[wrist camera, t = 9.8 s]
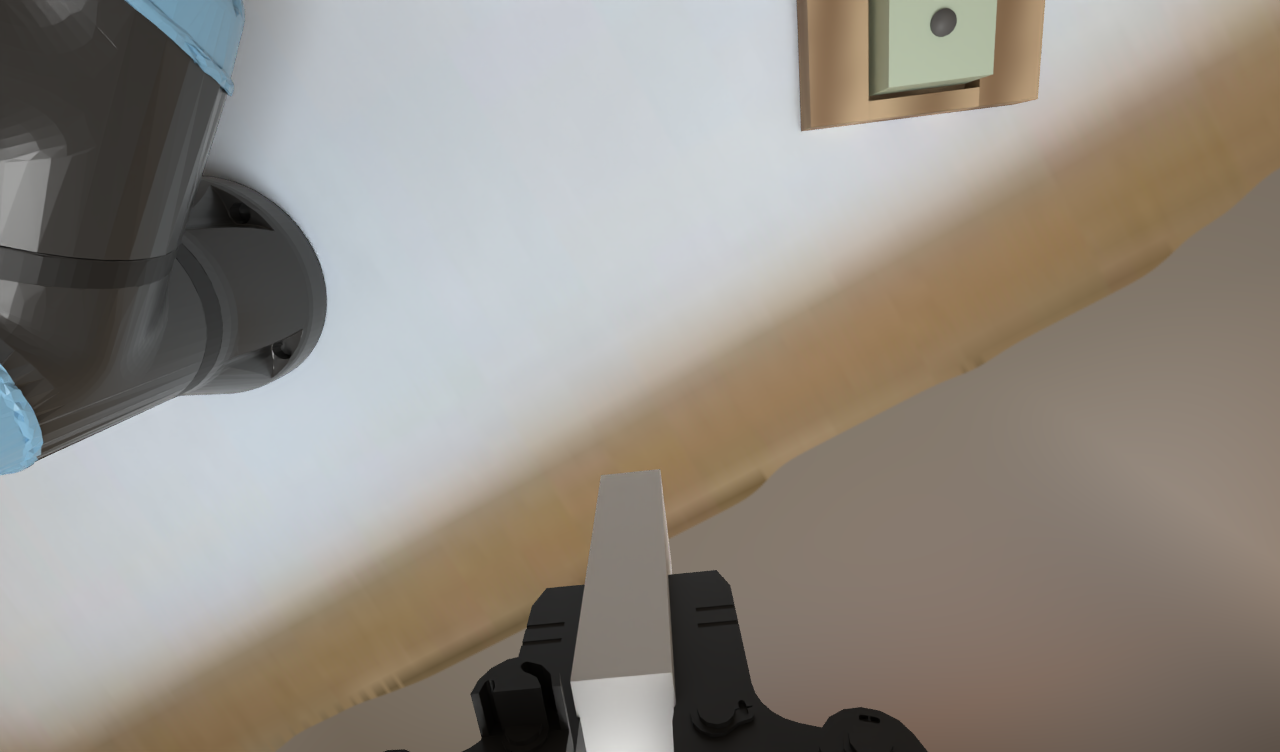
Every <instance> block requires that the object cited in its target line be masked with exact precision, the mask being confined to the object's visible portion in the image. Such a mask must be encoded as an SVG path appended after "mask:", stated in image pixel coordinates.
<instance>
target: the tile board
mask: <svg viewBox="0 0 1280 752" xmlns="http://www.w3.org/2000/svg"><path fill="white" fill-rule="evenodd" d="M1044 8H1045V0H997V12H996V30H995V49H994V67H993V74H992V75H989V76H986V77H983V78H980V79H977V80H974V81H971V82H968V83H965V84H959V85H951V86H943V87H936V88H928V89H920V90H912V91H904V92H896V93H889V94H881V95H873V96H869V0H797V19H798V48H799V78H800V107H801V131H807V130H815V129H823V128H831V127H839V126H847V125H855V124H863V123H871V122H878V121H886V120H894V119H902V118H910V117H918V116H926V115H934V114H942V113H950V112H958V111H966V110H974V109H981V108H989V107H997V106H1005V105H1013V104H1018V103H1022V102H1027V101H1031V100H1035V99H1038V87H1039V74H1040V61H1041V48H1042V34H1043V21H1044Z"/></svg>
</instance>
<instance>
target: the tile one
mask: <svg viewBox="0 0 1280 752" xmlns="http://www.w3.org/2000/svg"><path fill="white" fill-rule="evenodd" d="M996 12H997V0H869V96H873V95H881V94H889V93H896V92H904V91H912V90H920V89H928V88H936V87H943V86H951V85H959V84H965V83H968V82H971V81H974V80H977V79H980V78H983V77H986V76H989V75H992V74H993V67H994V49H995V30H996Z"/></svg>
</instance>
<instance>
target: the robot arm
mask: <svg viewBox="0 0 1280 752" xmlns="http://www.w3.org/2000/svg"><path fill="white" fill-rule="evenodd" d="M244 22H245V12H244V6H243V2H242V0H0V475H4V474H10V473H16V472H19V471H22V470H24V469H26V468H28V467H30V466H31V465H33V464H34V462H35V461H38V460H40V459H42V458H44V457H46V456H48V455H51V454H53V453H55V452H57V451H59V450H61V449H64V448H66V447H68V446H70V445H72V444H74V443H77V442H79V441H81V440H83V439H85V438H88V437H90V436H92V435H94V434H96V433H98V432H101V431H103V430H105V429H107V428H109V427H111V426H114V425H116V424H118V423H120V422H122V421H124V420H127V419H129V418H131V417H133V416H135V415H138V414H140V413H142V412H144V411H146V410H148V409H151V408H153V407H155V406H157V405H159V404H162V403H164V402H166V401H168V400H170V399H173V398H175V397H177V396H185V395H211V394H232V393H240V392H245V391H249V390H253V389H256V388H259V387H262V386H264V385H266V384H268V383H270V382H272V381H274V380H276V379H278V378H280V377H282V376H284V375H286V374H288V373H289V372H291V371H293V370H294V369H295V368H297V367H298V366H299V365H300V364H301V363H302V362H303V361H304V360H305V359H306V358H307V357H308V356H309V354H310V353H311V352H312V350H313V349H314V347H315V346H316V344H317V342H318V340H319V337H320V335H321V332H322V329H323V326H324V322H325V316H326V289H325V283H324V278H323V274H322V271H321V268H320V265H319V262H318V260H317V257H316V255H315V253H314V251H313V249H312V247H311V245H310V244H309V242H308V240H307V239H306V237H305V236H304V234H303V233H302V232H301V230H300V229H299V228H298V226H297V225H296V224H295V223H294V222H293V221H292V220H291V218H290V217H289V216H288V215H287V214H286V213H285V212H283V211H282V210H281V209H280V208H279V207H278V206H276V205H275V204H274V203H273V202H271V201H270V200H269V199H267V198H266V197H264V196H262V195H261V194H259V193H257V192H256V191H254V190H252V189H250V188H248V187H246V186H243V185H241V184H238V183H236V182H232V181H229V180H226V179H221V178H216V177H209V176H202V174H203V171H204V167H205V164H206V161H207V158H208V155H209V151H210V148H211V145H212V142H213V139H214V135H215V132H216V129H217V126H218V123H219V119H220V116H221V113H222V110H223V107H224V103H225V100H226V97H227V95H230V96H232V93H233V91H234V84H233V82H232V81H231V76H232V72H233V68H234V63H235V59H236V55H237V51H238V47H239V43H240V39H241V35H242V31H243V27H244ZM471 697H472V701H473V705H474V709H475V713H476V717H477V721H478V725H479V729H480V733H481V737H482V739H481V741H479V742H478V743H476V744H475V745H474V746H472V747H471V748H469V749H467V750H465V751H463V752H927V750H926V749H925V748H924V747H923V745H922V744H921V743H920V742H919V740H918V739H917V738H916V736H915V735H914V734H913V733H912V732H911V731H910V730H909V729H907V728H906V727H905V726H904V725H903V724H902V723H901V722H900V721H899V720H897V719H895V718H893V717H891V716H889V715H887V714H885V713H883V712H881V711H878V710H873V709H867V708H862V707H859V708H852V709H843V710H841V711H839V712H838V713H836V714H834V715H832V716H830V717H829V718H828V720H827V721H826V723H825V724H824V725H823V727H822V728H821V727H816V726H811V725H806V724H801V723H798V722H794V721H791V720H788V719H785V718H783V717H781V716H779V715H777V714H776V713H774V712H772V711H771V710H770V709H769V708H767V707H766V706H765V705H764V704H763V703H762V702H761V701H760V699H759V698H758V696H757V695H756V694H755V691H754V689H753V686H752V683H751V679H750V674H749V669H748V665H747V660H746V656H745V651H744V647H743V642H742V638H741V633H740V629H739V624H738V619H737V615H736V610H735V606H734V602H733V596H732V592H731V588H730V585H729V584H728V582H727V581H726V580H725V579H724V578H723V577H722V576H721V575H720V574H719V572H718V571H717V570H713V571H704V572H693V573H683V574H672V567H671V556H670V548H669V540H668V531H667V523H666V514H665V506H664V497H663V489H662V481H661V472H660V469H658V470H649V471H639V472H629V473H620V474H610V475H601V480H600V486H599V493H598V500H597V506H596V513H595V520H594V526H593V533H592V540H591V546H590V553H589V560H588V566H587V573H586V580H585V585H576V586H566V587H555V588H546V590H545V591H544V592H543V593H542V595H541V596H540V597H539V598H538V599H537V601H536V602H535V603H534V604H533V606H532V608H531V612H530V616H529V620H528V623H527V629H526V631H525V634H524V639H523V646H521V649H520V653H519V657H517V658H513V659H508V660H506V661H504V662H502V663H500V664H498V665H497V666H495V667H493V668H491V669H490V670H489V671H488V672H487V673H486V674H485V675H484V676H482V677H481V678H480V679H479V680H478V682H477V684H476V686H475V687H474V689H473V691H472V692H471ZM385 752H409V751H407V750H387V751H385Z"/></svg>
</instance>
